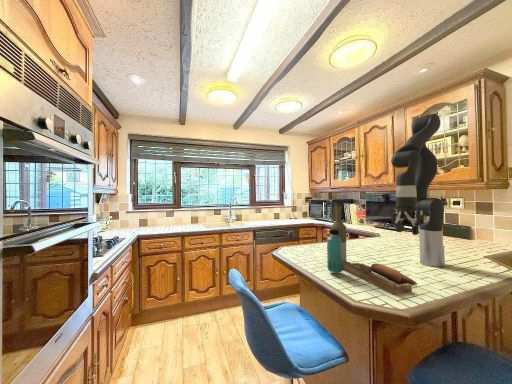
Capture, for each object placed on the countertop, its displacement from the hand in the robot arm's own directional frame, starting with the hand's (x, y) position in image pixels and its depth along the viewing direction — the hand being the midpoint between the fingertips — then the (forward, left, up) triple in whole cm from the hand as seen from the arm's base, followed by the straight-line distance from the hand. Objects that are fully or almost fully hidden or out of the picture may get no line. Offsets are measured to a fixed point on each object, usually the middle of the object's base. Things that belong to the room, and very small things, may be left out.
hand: (406, 233), depth 96 cm
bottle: (+22, -18, -18) cm, 34 cm away
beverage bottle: (+30, -10, -18) cm, 36 cm away
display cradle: (+19, 0, -18) cm, 26 cm away
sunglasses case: (+8, 0, -19) cm, 21 cm away
